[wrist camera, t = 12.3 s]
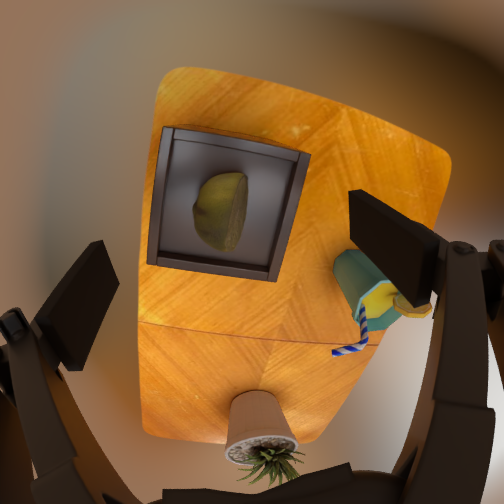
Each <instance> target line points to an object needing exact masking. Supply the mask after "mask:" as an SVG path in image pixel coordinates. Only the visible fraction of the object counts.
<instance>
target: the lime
mask: <svg viewBox="0 0 504 504" xmlns="http://www.w3.org/2000/svg"><path fill="white" fill-rule="evenodd" d="M248 195H249V188H248V177H247V175H244V174H242V173H225V174H220V175H217V176H214V177H212V178H211V179H209V180H208V181H207V182H206V183H205V184H204V185H203V186H202V188H201V189H200V191H199V194H198V197H197V200H196V201H195V203H194V204H193V207H192V211H193V219H194V227H195V230H196V232H197V234H198V235H199V237H200V238H201V239H202V240H203V241H204V242H205V243H206V244H207V245H209V246H210V247H212V248H214V249H216V250H219V251H222V252H232V251H234V250H235V248H236V245H237V243H238V242H239V240H240V238H241V234H242V231H243V229H244V222H245V219H246V214H247V203H248Z"/></svg>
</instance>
